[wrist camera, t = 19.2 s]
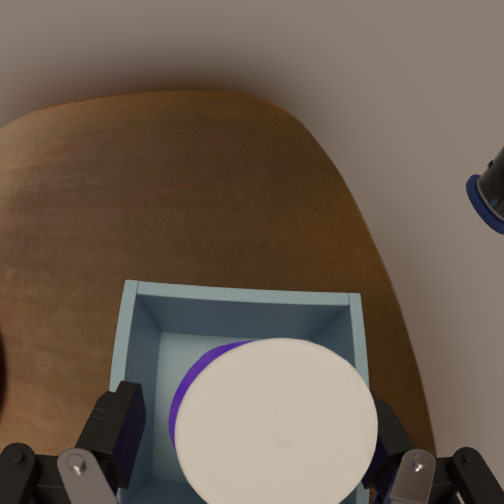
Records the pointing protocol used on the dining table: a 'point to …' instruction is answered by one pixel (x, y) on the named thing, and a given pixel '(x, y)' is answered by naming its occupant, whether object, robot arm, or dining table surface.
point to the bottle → (273, 424)
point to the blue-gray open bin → (201, 341)
